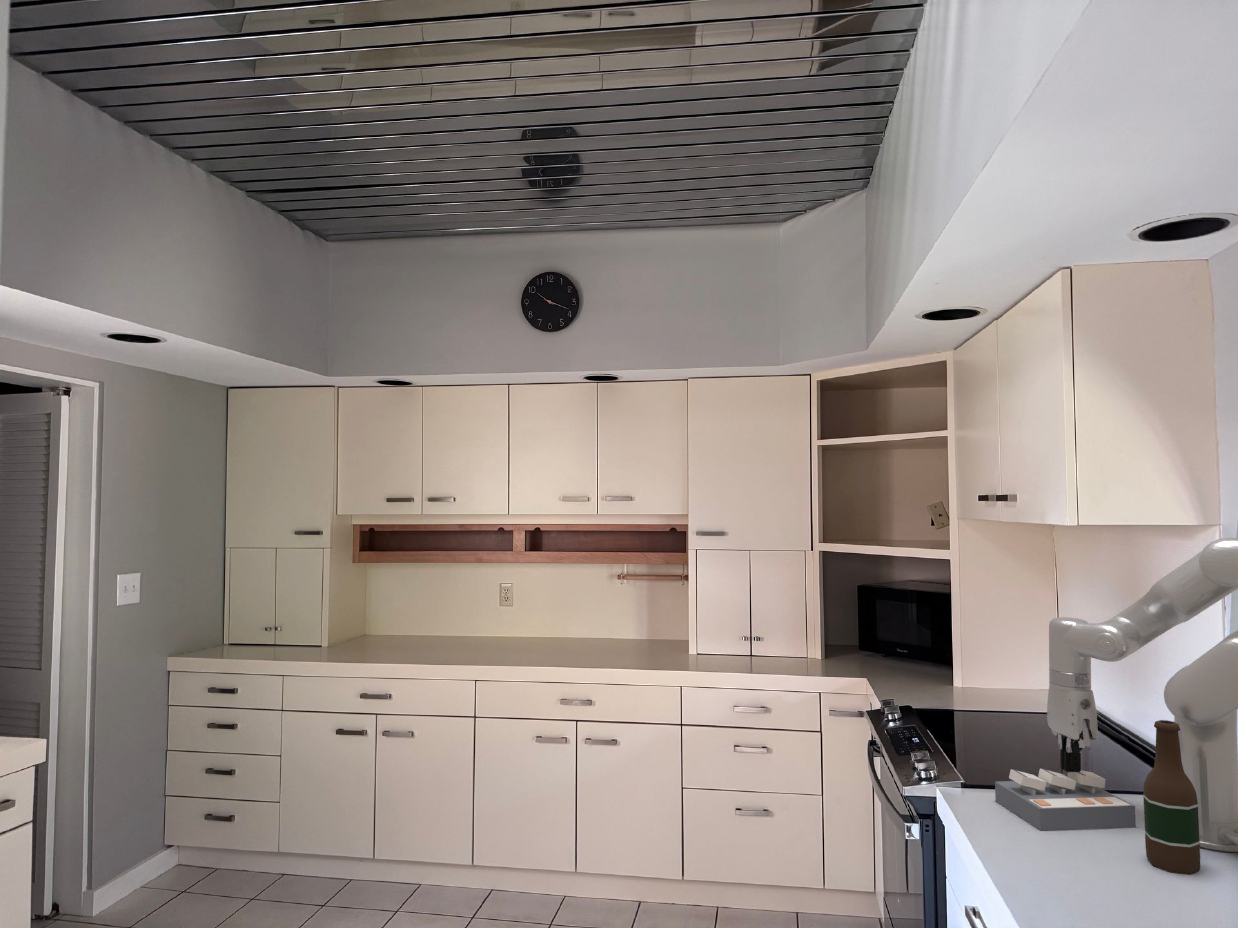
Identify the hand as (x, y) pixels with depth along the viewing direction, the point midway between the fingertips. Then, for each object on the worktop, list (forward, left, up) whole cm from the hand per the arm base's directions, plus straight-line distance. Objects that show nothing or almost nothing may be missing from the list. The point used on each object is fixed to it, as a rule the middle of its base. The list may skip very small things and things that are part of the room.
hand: (1070, 770), depth 166 cm
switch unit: (-2, +3, -8) cm, 9 cm away
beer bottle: (-27, -1, -8) cm, 28 cm away
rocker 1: (-1, +10, -2) cm, 10 cm away
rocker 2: (-1, -3, -2) cm, 3 cm away
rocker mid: (-1, +3, -2) cm, 4 cm away
